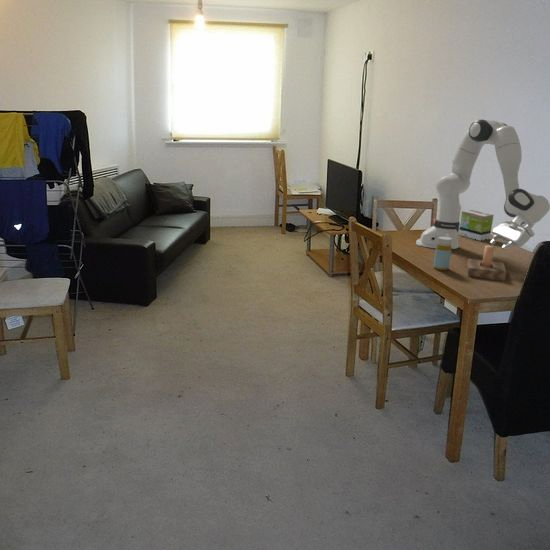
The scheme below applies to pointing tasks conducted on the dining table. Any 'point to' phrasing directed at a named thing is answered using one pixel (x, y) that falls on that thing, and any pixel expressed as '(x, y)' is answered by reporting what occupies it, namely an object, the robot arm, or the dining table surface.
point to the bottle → (442, 253)
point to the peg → (487, 256)
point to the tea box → (476, 225)
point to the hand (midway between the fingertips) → (497, 246)
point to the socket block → (486, 270)
